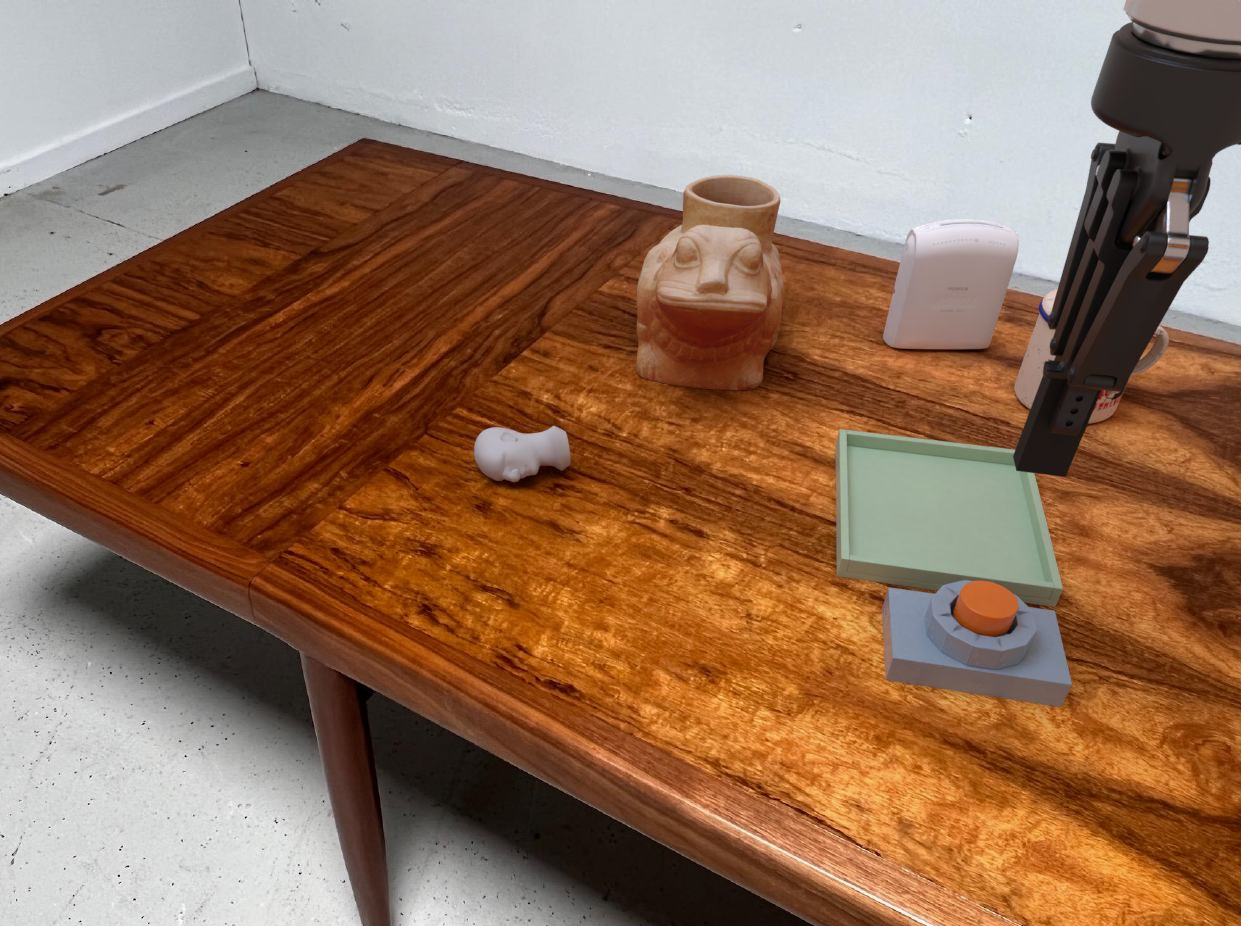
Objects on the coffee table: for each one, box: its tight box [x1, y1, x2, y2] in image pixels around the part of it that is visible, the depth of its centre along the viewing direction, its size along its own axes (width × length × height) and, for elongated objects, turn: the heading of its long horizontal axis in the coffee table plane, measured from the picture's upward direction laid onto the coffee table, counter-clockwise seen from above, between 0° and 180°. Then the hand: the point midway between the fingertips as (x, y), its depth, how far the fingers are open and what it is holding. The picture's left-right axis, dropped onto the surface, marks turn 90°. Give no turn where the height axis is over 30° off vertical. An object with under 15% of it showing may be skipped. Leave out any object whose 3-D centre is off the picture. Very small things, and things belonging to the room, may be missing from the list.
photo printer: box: [882, 218, 1020, 350], centre depth 101 cm, size 10×4×12 cm, turn 88°
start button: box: [954, 581, 1019, 637], centre depth 70 cm, size 4×4×2 cm
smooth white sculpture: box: [473, 425, 572, 483], centre depth 88 cm, size 4×8×5 cm
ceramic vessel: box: [635, 174, 786, 392], centre depth 101 cm, size 14×26×15 cm, turn 167°
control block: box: [881, 580, 1073, 708], centre depth 72 cm, size 11×7×4 cm, turn 77°
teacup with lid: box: [1013, 287, 1170, 425], centre depth 94 cm, size 12×9×12 cm
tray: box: [834, 428, 1064, 608], centre depth 84 cm, size 15×17×2 cm
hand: (1039, 466), depth 63 cm, fingers closed
